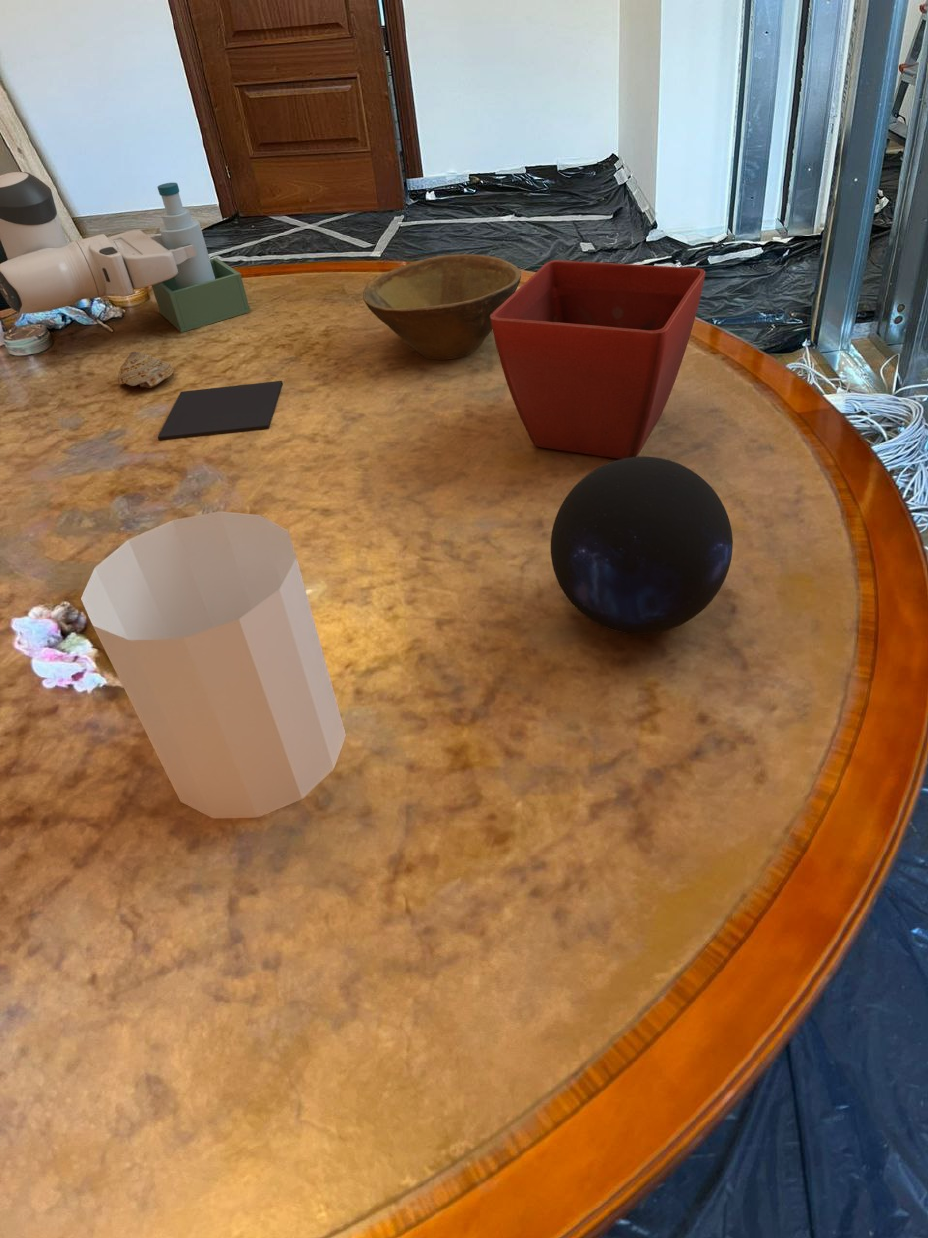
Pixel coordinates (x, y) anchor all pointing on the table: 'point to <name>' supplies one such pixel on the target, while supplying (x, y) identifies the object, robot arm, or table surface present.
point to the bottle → (184, 238)
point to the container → (220, 660)
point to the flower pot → (595, 351)
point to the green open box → (203, 299)
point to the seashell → (143, 370)
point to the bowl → (443, 301)
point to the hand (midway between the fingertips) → (185, 243)
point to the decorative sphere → (641, 545)
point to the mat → (222, 410)
